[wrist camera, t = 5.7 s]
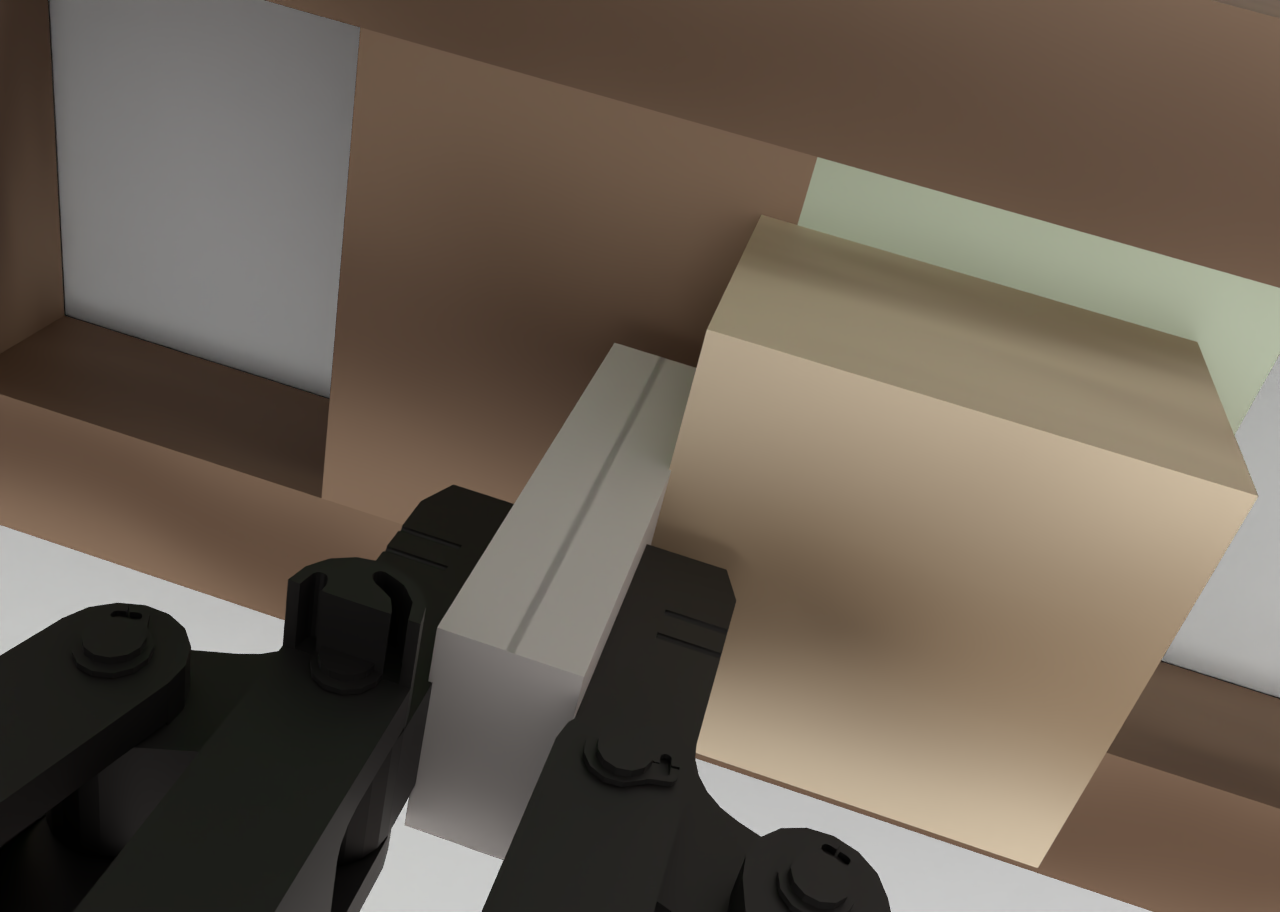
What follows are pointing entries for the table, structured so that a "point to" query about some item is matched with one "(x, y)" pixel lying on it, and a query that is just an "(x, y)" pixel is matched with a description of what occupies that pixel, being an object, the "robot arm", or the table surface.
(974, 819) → the maple block
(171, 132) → the table surface
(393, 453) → the trap deck
